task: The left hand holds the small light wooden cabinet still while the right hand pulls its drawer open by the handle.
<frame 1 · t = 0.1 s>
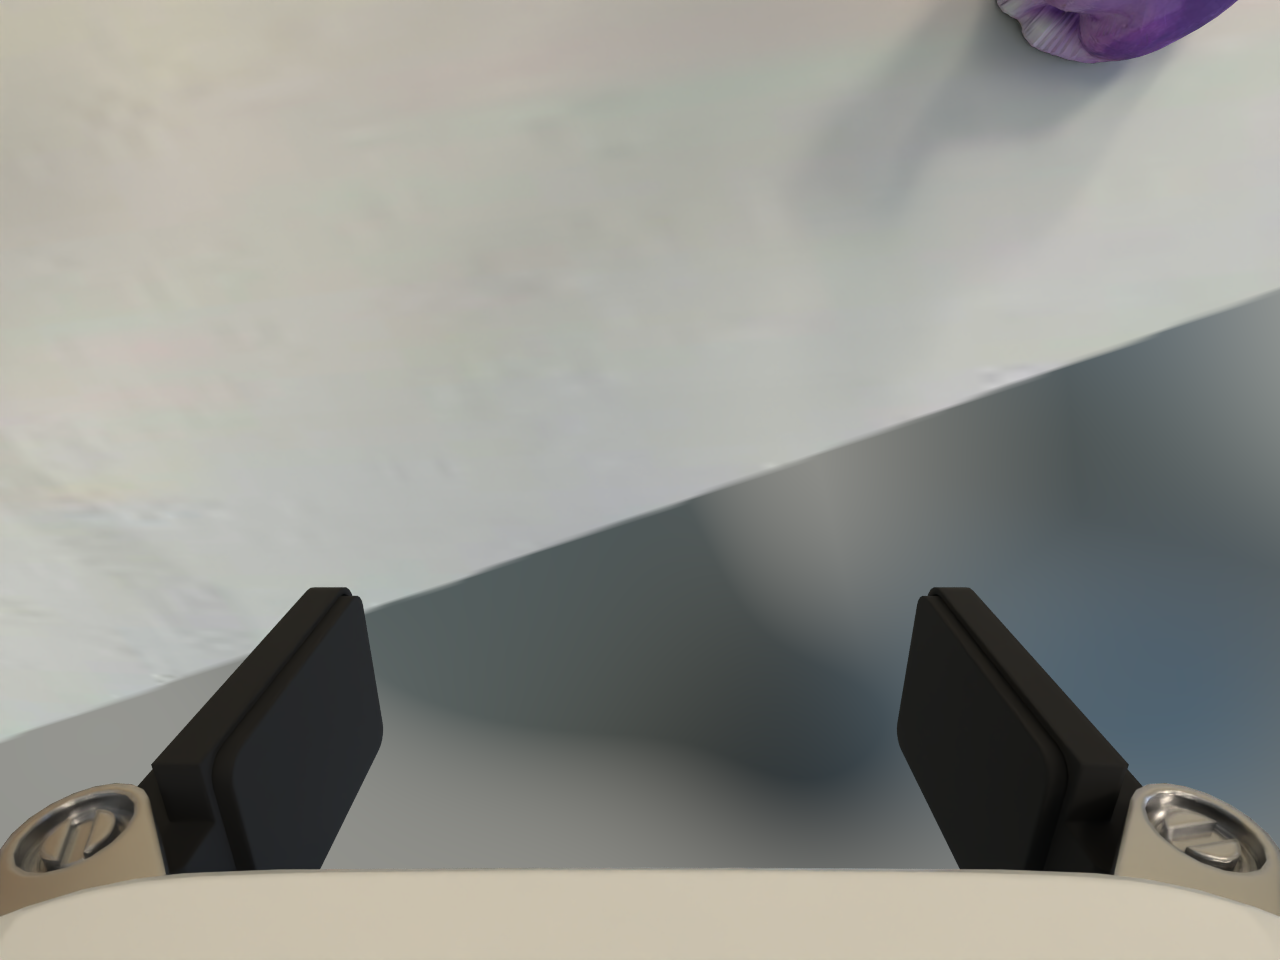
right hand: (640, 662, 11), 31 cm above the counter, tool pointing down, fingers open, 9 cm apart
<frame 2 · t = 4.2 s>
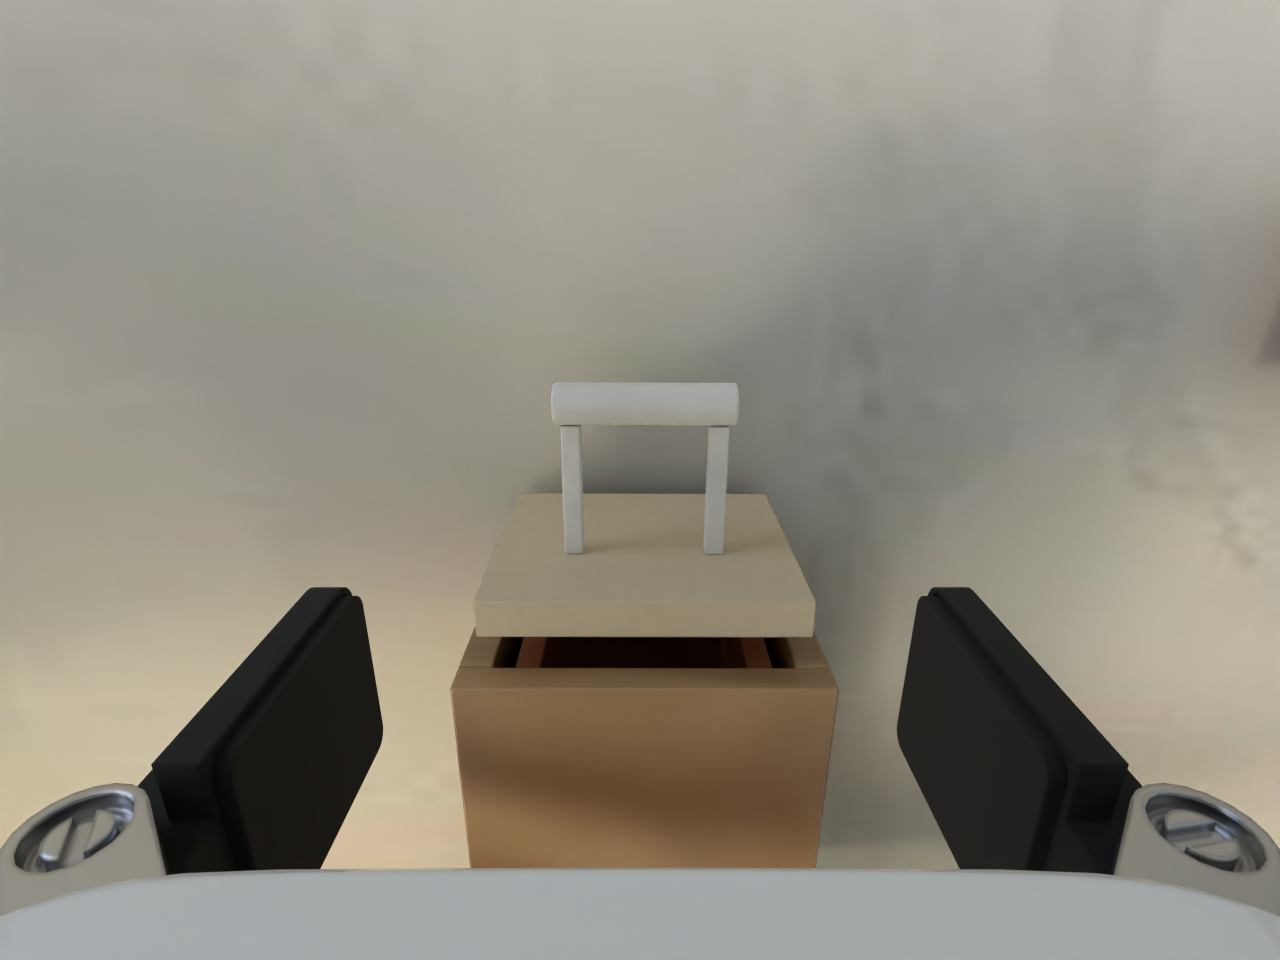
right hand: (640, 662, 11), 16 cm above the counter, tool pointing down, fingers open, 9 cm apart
cabinet: (641, 709, 32), on the counter, touching left hand
drawer: (642, 677, 25), point 5 cm above the counter, slide at 1.0 cm
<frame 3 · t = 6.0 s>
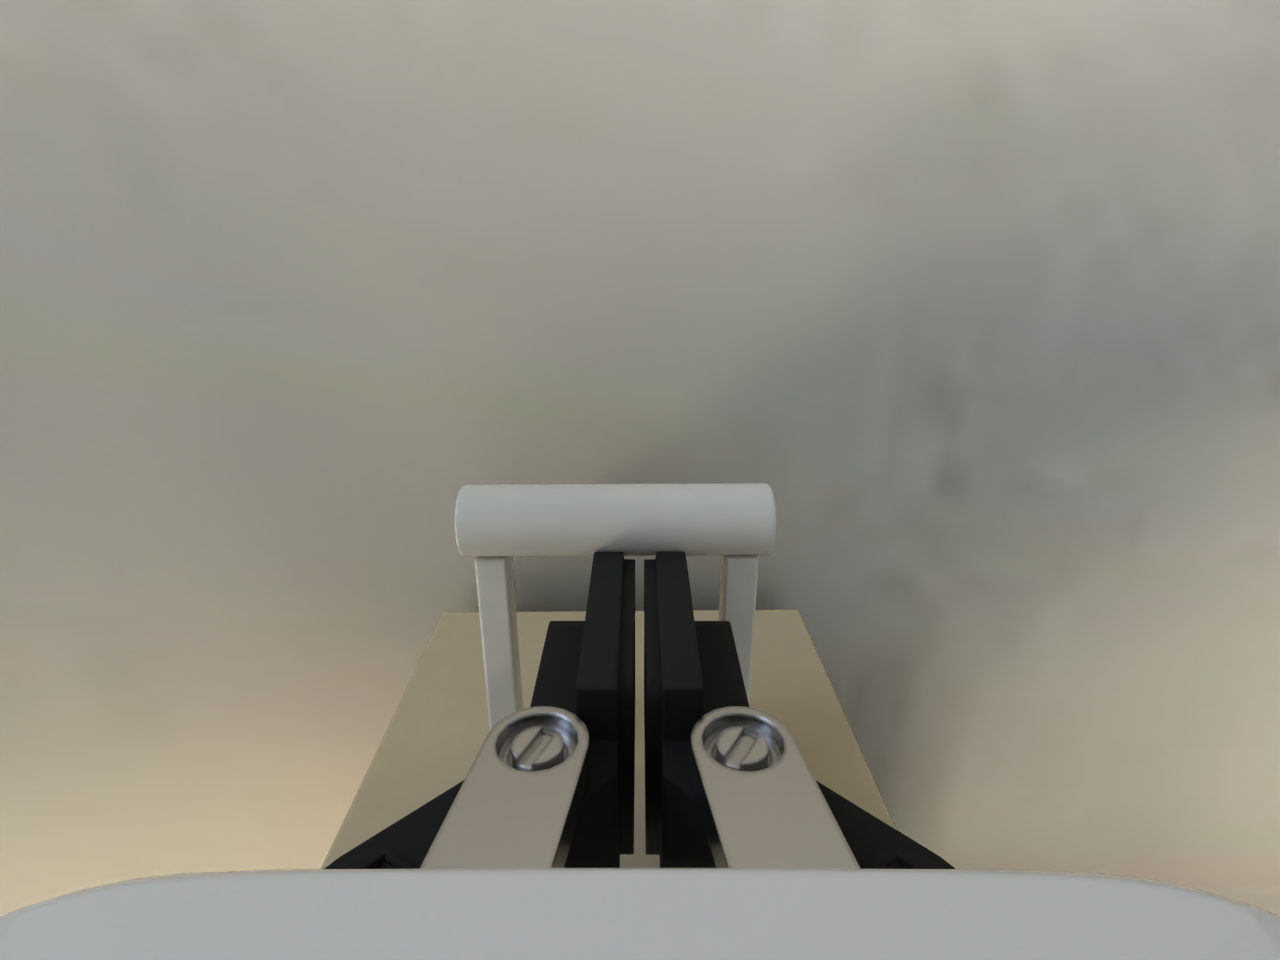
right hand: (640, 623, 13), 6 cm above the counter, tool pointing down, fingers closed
drawer: (621, 898, 17), point 5 cm above the counter, slide at 1.0 cm, touching right hand
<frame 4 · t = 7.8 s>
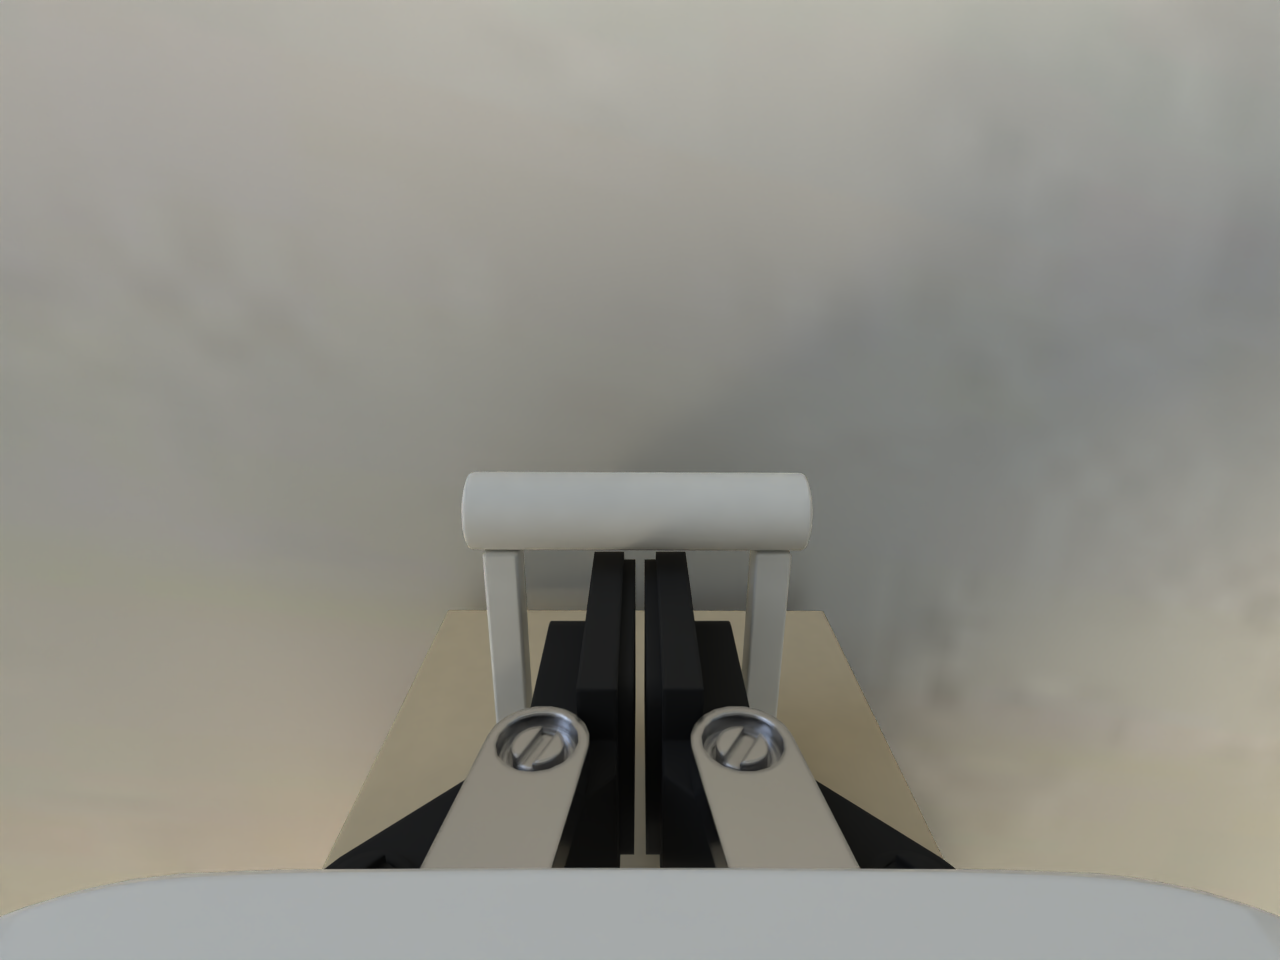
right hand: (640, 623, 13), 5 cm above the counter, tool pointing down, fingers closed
drawer: (635, 915, 16), point 5 cm above the counter, slide at 7.6 cm
when the left hand's fingers open (6 cm above the counter, at t = 9.3 s): cabinet stays where it is, on the counter.
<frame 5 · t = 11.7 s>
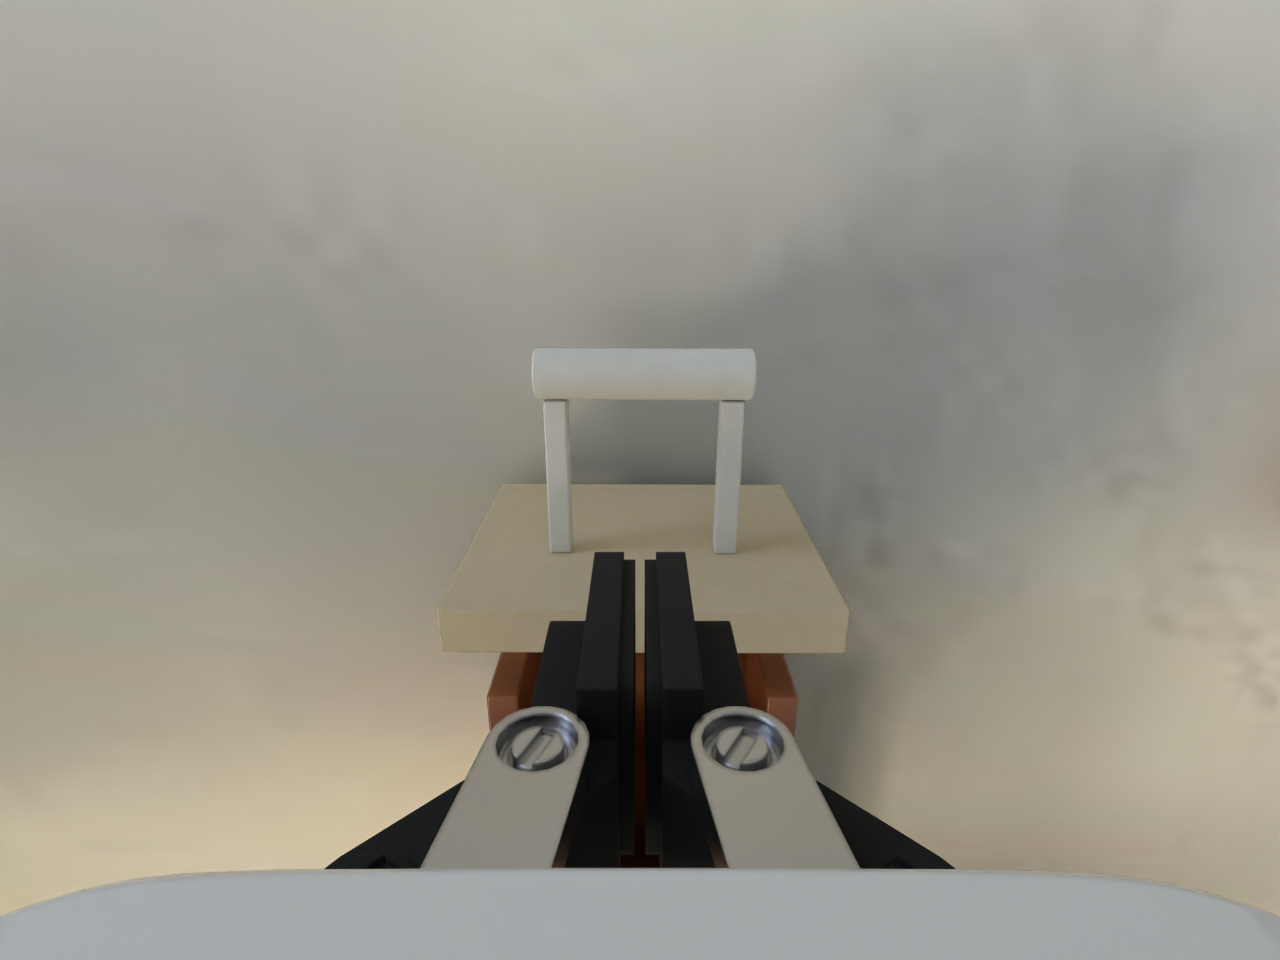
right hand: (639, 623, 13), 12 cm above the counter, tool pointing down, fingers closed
drawer: (641, 694, 22), point 5 cm above the counter, slide at 7.6 cm
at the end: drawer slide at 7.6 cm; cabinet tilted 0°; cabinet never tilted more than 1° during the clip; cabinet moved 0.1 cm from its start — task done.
